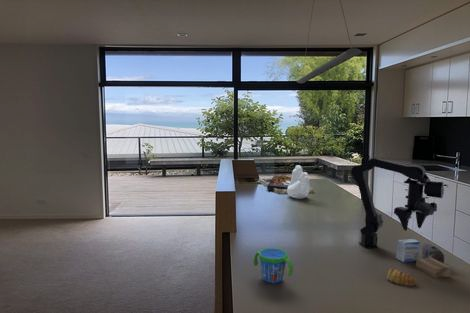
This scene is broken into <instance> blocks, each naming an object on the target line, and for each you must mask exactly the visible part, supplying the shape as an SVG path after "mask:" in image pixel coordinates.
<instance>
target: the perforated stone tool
mask: <svg viewBox="0 0 470 313" xmlns="http://www.w3.org/2000/svg"><path fill="white" fill-rule="evenodd" d="M421 253H422V256H423V258H430V257H432V258H433V259H435V260H437V261H439V262H441V263H443V264H445V255H444V253H443V252H442V250H440V249H439V248H438V247H436V246H435V245H433V244H429V243H425V244H423V245H422V247H421Z"/></svg>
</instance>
